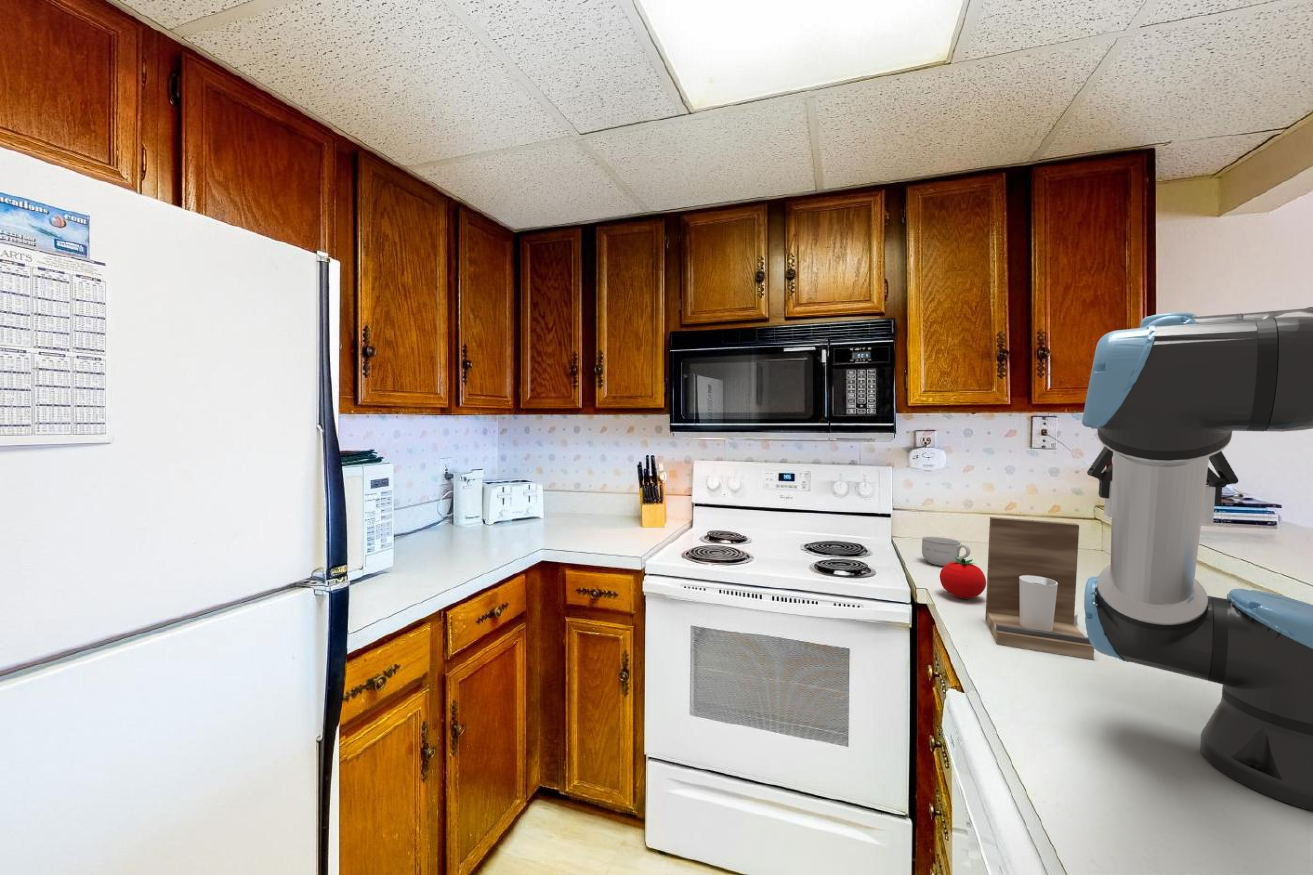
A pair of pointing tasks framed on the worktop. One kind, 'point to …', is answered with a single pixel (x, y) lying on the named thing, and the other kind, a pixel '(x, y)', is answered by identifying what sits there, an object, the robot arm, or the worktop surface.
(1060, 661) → the worktop surface
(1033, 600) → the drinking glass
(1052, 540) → the wooden display stand
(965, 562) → the tomato
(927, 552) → the teacup
